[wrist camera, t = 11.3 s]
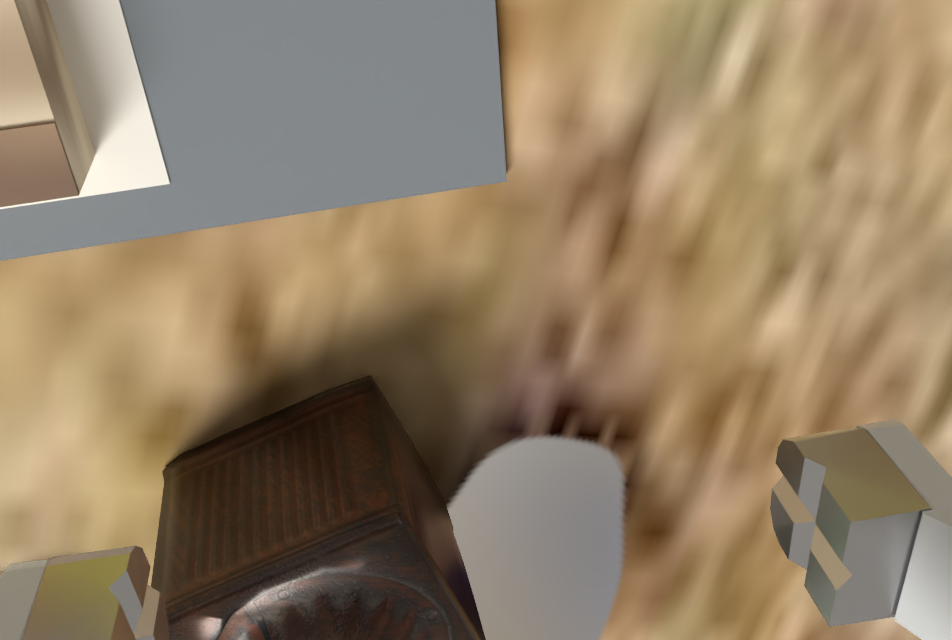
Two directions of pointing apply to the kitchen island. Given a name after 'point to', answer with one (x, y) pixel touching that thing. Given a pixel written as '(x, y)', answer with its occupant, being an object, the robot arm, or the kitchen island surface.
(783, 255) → the kitchen island surface
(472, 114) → the mat
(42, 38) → the tan rectangular block
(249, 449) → the manual coffee grinder
